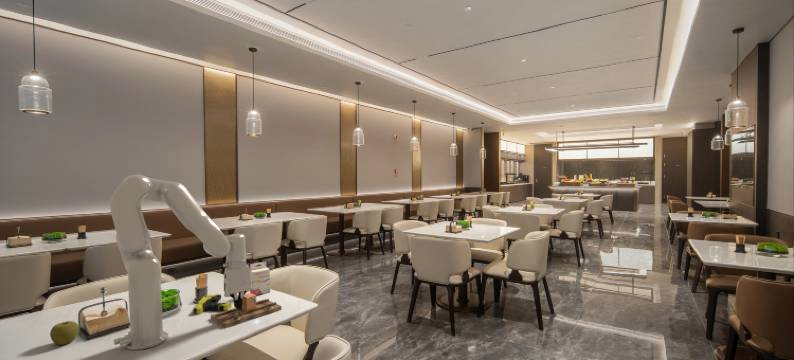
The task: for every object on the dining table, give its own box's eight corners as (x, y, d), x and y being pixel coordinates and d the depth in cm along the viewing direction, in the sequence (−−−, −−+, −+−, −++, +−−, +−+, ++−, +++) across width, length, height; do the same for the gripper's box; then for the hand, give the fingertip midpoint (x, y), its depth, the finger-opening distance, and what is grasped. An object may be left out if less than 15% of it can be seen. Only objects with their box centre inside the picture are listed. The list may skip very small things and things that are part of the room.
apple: (79, 335, 137) (78, 317, 136) (79, 343, 131) (78, 323, 130) (51, 342, 132) (50, 323, 131) (50, 350, 126) (49, 330, 125)
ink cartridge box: (253, 296, 176) (252, 266, 175) (250, 293, 180) (248, 264, 179) (270, 292, 181) (269, 262, 181) (267, 289, 185) (266, 261, 185)
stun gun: (237, 291, 176) (204, 294, 173) (228, 305, 157) (190, 309, 154) (238, 297, 176) (204, 300, 173) (228, 312, 157) (190, 316, 154)
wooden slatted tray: (225, 328, 140) (224, 318, 140) (210, 318, 150) (210, 309, 150) (281, 309, 157) (281, 301, 157) (265, 302, 167) (265, 294, 167)
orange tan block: (251, 314, 149) (250, 300, 148) (242, 309, 155) (241, 295, 154) (260, 311, 152) (260, 297, 151) (251, 306, 158) (250, 292, 157)
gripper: (221, 269, 142) (223, 315, 143) (258, 261, 153) (259, 304, 154) (214, 266, 147) (216, 311, 148) (250, 259, 158) (251, 300, 159)
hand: (238, 307), depth 151 cm, fingers closed
